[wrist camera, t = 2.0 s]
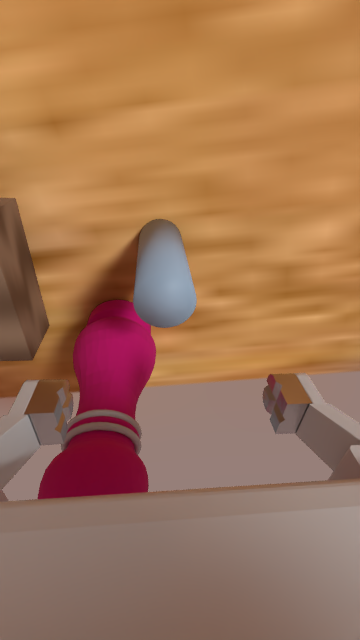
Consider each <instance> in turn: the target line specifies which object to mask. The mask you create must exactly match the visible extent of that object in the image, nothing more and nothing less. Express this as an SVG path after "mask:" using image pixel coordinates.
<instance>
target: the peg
mask: <svg viewBox="0 0 360 640" xmlns="http://www.w3.org/2000/svg"><path fill="white" fill-rule="evenodd" d="M133 304H134V309H135V311H136V313H137V315H138V316H139V317H140V318H141V319H142V320H143V321H144V322H146V323H148V324H150V325H152V326H155V327H162V328H166V327H173V326H176V325H179V324H181V323H183V322H184V321H186V320H187V319H188V318H189V317H190V316H191V315H192V313H193V312H194V310H195V307H196V294H195V290H194V286H193V282H192V278H191V274H190V270H189V266H188V262H187V258H186V254H185V250H184V246H183V242H182V238H181V234H180V232H179V230H178V228H177V227H176V226H175V225H174V224H173V223H172V222H170V221H168V220H164V219H156V220H152V221H150V222H149V223H147V224H146V225H145V226H144V227H143V229H142V230H141V232H140V236H139V246H138V256H137V267H136V277H135V288H134V298H133Z"/></svg>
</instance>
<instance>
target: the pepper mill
mask: <svg viewBox="0 0 360 640" xmlns="http://www.w3.org/2000/svg"><path fill="white" fill-rule="evenodd" d="M155 357H156V347H155V343H154V340H153V338H152V336H151V325H150V324H148V323H146V322H144V321H143V320H142V319H141V318H140V317H139V316H138V315H137V313H136V311H135V309H134V304H133V303H132V302H129V301H125V300H111V301H107V302H104V303H102V304H100V305H98V306H97V307H96V308H95V309H94V310H93V311H92V312H91V314H90V317H89V320H88V323H87V326H86V327H85V328H84V329H83V330H82V331H81V332H80V334H79V335H78V337H77V339H76V342H75V346H74V351H73V364H74V370H75V373H76V376H77V380H78V383H79V387H80V401H79V408H78V411H77V414H76V416H75V417H74V418H73V419H71V420H70V421H69V422H68V424H67V426H68V430H67V434H66V437H65V441H64V444H61V449H62V453H60V454H59V455H57V456H56V457H55V458H54V459H53V461H52V462H51V463H50V465H49V466H48V467H47V469H46V470H45V473H44V475H43V478H42V481H41V483H40V488H39V494H38V499H51V498H66V497H81V496H97V495H112V494H128V493H143V492H148V475H147V471H146V468H145V465H144V464H143V462H142V460H141V459H140V458H139V456H138V454H139V452H140V450H141V441H140V438H141V434H142V433H141V428H140V426H139V424H138V423H137V421H136V420H135V411H136V404H137V401H138V398H139V396H140V394H141V392H142V390H143V388H144V387H145V385H146V383H147V381H148V380H149V378H150V376H151V373H152V371H153V368H154V364H155Z"/></svg>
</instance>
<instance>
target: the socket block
mask: <svg viewBox="0 0 360 640" xmlns="http://www.w3.org/2000/svg"><path fill="white" fill-rule="evenodd" d="M48 327H49V322H48V319H47V315H46V311H45V307H44V304H43V300H42V296H41V292H40V289H39V285H38V281H37V277H36V274H35V270H34V266H33V263H32V259H31V255H30V251H29V248H28V244H27V240H26V236H25V233H24V229H23V225H22V221H21V218H20V214H19V210H18V206H17V203H16V199H15V198H0V361H21V360H33V358H34V356H35V354H36V352H37V350H38V348H39V346H40V344H41V342H42V340H43V338H44V335H45V333H46V331H47V329H48Z"/></svg>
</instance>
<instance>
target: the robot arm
mask: <svg viewBox="0 0 360 640" xmlns="http://www.w3.org/2000/svg"><path fill="white" fill-rule="evenodd" d="M267 382H268V386H266V387H265V388H264V391H263V403H264V406H265V409H266V411H267V412H269V413H270V414H271V418H270V421H271V424H272V426H273V428H274V431H275V433H276V434H283V433H286V434H287V433H296V435H297V436H298V437H299V438H300V439H301V440H302V441H303V442H304V443H305V444H306V445H307V446H308V447H309V448H310V449H311V450H312V451H313V452H314V453H315V454H316V455H317V456H318V457H320V458H321V459H322V460H323V461H324V462H325V463H326V464H327V465H328V466H329V467H330V468H331V469H332V470H333V473H332V474H331V476H330V477H329V479H328V480H327V481H311V482H296V483H282V484H267V485H266V484H265V485H251V486H235V487H219V488H204V489H188V490H174V491H159V492H143V493H128V494H112V495H97V496H81V497H66V498H51V499H35V500H20V501H8V499H7V497H6V496H5V494H4V493H3V491H2V489H3V487H4V486H5V485H6V484H7V483H8V482H9V481H10V480H11V479H12V478H13V476H14V475H15V474H16V473H17V472H18V471H19V470H20V469H21V467H22V466H23V465H24V464H25V463H26V462H27V461H28V460H29V459H30V458H31V456H32V455H33V454H34V453H35V452H36V451H37V450H38V449H39V448H40V445H52V444H64V441H65V437H66V434H67V430H68V426H67V421H68V420H69V419H70V418H71V415H72V412H73V396H72V394H71V393H70V392H69V388H70V384H69V381H68V380H26V381H25V382H24V383H23V385H22V387H21V389H20V391H19V393H18V395H17V397H16V399H15V401H14V403H13V405H12V407H11V409H10V411H9V413H8V415H3V416H2V417H0V640H360V423H358V422H357V421H355V420H354V419H352V418H351V417H349V416H348V415H346V414H345V413H343V412H342V411H340V410H339V409H337V408H336V407H334V406H333V405H331V404H330V403H327V404H326V403H325V401H324V400H323V398H322V396H321V395H320V393H319V392H318V390H317V389H316V387H315V386H314V384H313V382H312V381H311V379H310V378H309V376H308V375H307V374H306V373H293V374H292V373H288V374H270V375H269V376H268V378H267Z"/></svg>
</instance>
